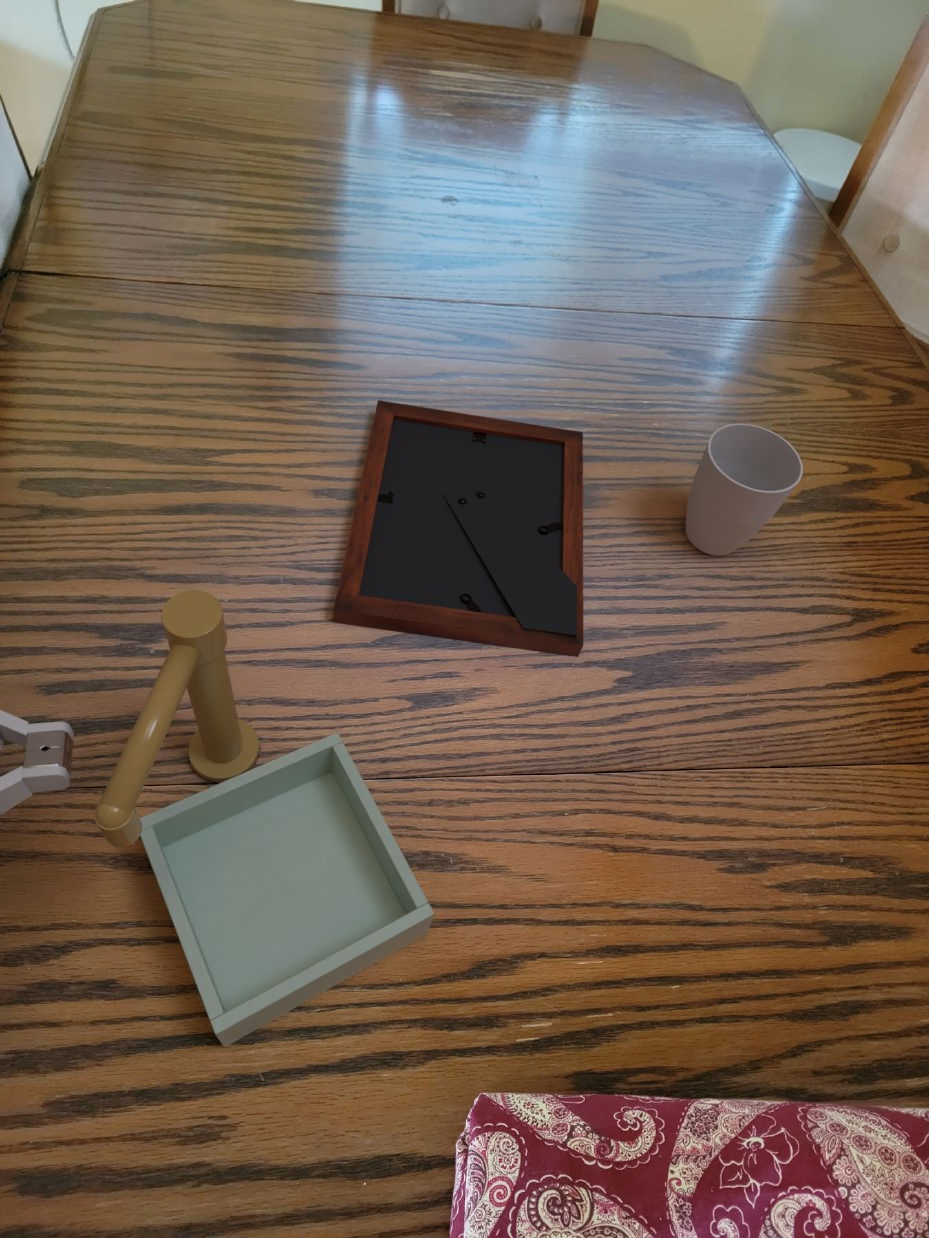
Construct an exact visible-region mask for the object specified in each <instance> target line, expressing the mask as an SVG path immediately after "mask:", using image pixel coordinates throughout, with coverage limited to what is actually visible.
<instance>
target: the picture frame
mask: <svg viewBox="0 0 929 1238" xmlns="http://www.w3.org/2000/svg"><path fill="white" fill-rule="evenodd" d="M368 440H369V441H368V445H367V449H366V453H365V458H364V464H363V468H362V473H361V477H360V482H359V486H358V490H357V491H358V492H357V496H356V501H355V505H354V509H353V514H352V519H351V524H350V528H349V534H348V538H347V543H346V547H345V552H344V556H343V562H342V567H341V571H340V576H339V580H338V585H337V589H336V594H335V598H334V604H333V608H332V623H335V624H343V625H350V626H357V627H363V628H372V629H377V630H385V631H392V632H400V633H405V634H413V635H421V636H429V637H435V638H442V639H450V640H458V641H464V642H469V643H478V644H485V645H493V646H498V647H499V646H500V647H506V648H512V649H513V648H514V649H519V650H528V651H534V652H543V653H549V654H557V655H562V656H563V655H564V656H569V657H570V656H571V657H579V656H580V654H581V651H582V649H583V647H584V432H583V431H579V430H573V429H565V428H561V427H560V428H559V427H553V426H546V425H540V424H533V423H526V422H521V421H514V420H509V419H501V418H496V417H489V416H483V415H477V414H469V413H463V412H457V411H452V410H445V409H437V408H431V407H425V406H418V405H412V404H405V403H399V402H393V401H387V400H382V399H381V400H380V399H378V400H377V402H376V408H375V411H374V416H373V422H372V427H371V431H370V435H369V439H368Z"/></svg>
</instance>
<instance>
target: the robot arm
mask: <svg viewBox="0 0 929 1238" xmlns="http://www.w3.org/2000/svg"><path fill="white" fill-rule="evenodd" d="M4 740H5V741H7V742H10V743H12V744H15V745H17V746H21V747H22V748H25V752H24V753H25V754H24V759H23V765H21V766H19V767H17V768H15V769H13V770H11V771H9V772H7V773H5V774H3V775H1V776H0V816H2V815H3V814H5V813H6V812H8V811H10V810H11V809H13V808H14V807H17V805H19V804H21V803H23V802H24V801H26V800H27V799H29V798H30V797H32V796H33V794H35V793H45V792H52V791H53V792H54V791H61V790H67V789H68V788H69V787H70V786H71V777H72V762H73V750H74V743H75V732H74V730H73V728H72V726H71V725H70V723H68V722H65V721H50V722H49V721H48V722H38V723H37V722H36V723H30V722H29V721H28V720H25V719H23V718H20V717H19V716H16V715H14V714H12V713H9V712H7V711H4V710H2V709H0V751H1V750H2V749H3V748H4Z"/></svg>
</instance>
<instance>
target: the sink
mask: <svg viewBox="0 0 929 1238" xmlns="http://www.w3.org/2000/svg"><path fill="white" fill-rule="evenodd" d="M139 818H140V820H141V822H142V833H141V835H140V839H141V842H142V844H143V847H144V849H145V852H146V855H147V858H148V860H149V863H150V865H151V869H152V871H153V874H154V876H155V879H156V882H157V884H158V887H159V890H160V893H161V895H162V897H163V901H164V904H165V906H166V908H167V911H168V913H169V916H170V919H171V921H172V924H173V927H174V928H175V933H176V935H177V937H178V941H179V943H180V945H181V948H182V951H183V953H184V956H185V959H186V961H187V964H188V967H189V969H190V972H191V975H192V977H193V979H194V983H195V985H196V988H197V990H198V994H199V996H200V998H201V1002H202V1004H203V1007H204V1009H205V1012H206V1014H207V1017H208V1019H209V1020H208V1021H210V1025H211V1028H212V1030H213V1033H214V1034H215V1036H216V1038H217V1040H218V1041H219V1042H220V1044H221V1045H222V1047H223V1048H226V1047H229V1046H230V1045H232V1044H233V1043H236V1042H237V1041H238V1040H241V1039H242V1038H244V1037H246V1036H248V1035H249V1034H251V1033H253V1032H255V1031H257V1030H258V1029H260V1028H263V1027H264V1026H266V1025H267V1024H269V1023H271V1022H272V1021H274V1020H276V1019H278V1018H280V1017H282V1016H283V1015H286V1014H287V1013H289V1012H290V1011H293V1010H294V1009H296V1008H298V1007H300V1006H301V1005H304V1004H305V1003H307V1002H309V1001H310V1000H312V999H314V998H316V997H317V996H319V995H321V994H322V993H325V992H326V991H328V990H331V988H333V987H335V986H337V985H339V984H340V983H342V982H345V981H346V980H348V979H350V978H351V977H353V976H355V975H357V974H359V973H360V972H362V971H364V970H366V969H368V968H369V967H371V966H373V965H375V964H376V963H378V962H380V961H382V960H383V959H385V958H387V957H389V956H391V955H393V954H394V953H396V952H398V951H400V950H402V949H404V948H405V947H407V946H408V945H411V944H413V943H414V942H416V941H418V940H419V939H421V938H423V937H425V936H427V935H428V933H429V931H430V927H431V924H432V922H433V920H434V916H435V912H434V910H433V908H432V906H431V904H430V903H429V901H428V898H427V896H426V895H425V893H424V891H423V889H422V888H421V886H420V883H419V881H418V880H417V878H416V876H415V874H414V873H413V871H412V869H411V867H410V865H409V863H408V861H407V859H406V857H405V856H404V853H403V852H402V850H401V848H400V846H399V844H398V842H397V840H396V839H395V837H394V835H393V833H392V832H391V829H390V827H389V826H388V824H387V822H386V820H385V818H384V816H383V814H382V813H381V811H380V808H379V807H378V805H377V802H376V801H375V799H374V798H373V796H372V794H371V792H370V789H369V788H368V786H367V784H366V782H365V781H364V778H363V776H362V775H361V773H360V771H359V769H358V767H357V766H356V764H355V762H354V760H353V758H352V756H351V754H350V752H349V750H348V749H347V747H346V745H345V743H344V742H343V739H342V737H341V735H340V734H339V732H338V731H337V732H335V733H333V734H330V735H328V736H326V737H323V738H321V739H319V740H316V741H314V742H312V743H309V744H307V745H305V746H302V747H300V748H298V749H296V750H293V751H290V752H288V753H287V754H284V755H281V756H280V757H277V758H275V759H273V760H270V761H267V762H265V763H264V764H261V765H258V766H257V767H253V768H252V769H251V770H249V771H247V772H245V773H243V774H240V775H238V776H236V777H233V778H231V779H229V780H226V781H224V782H222V783H217V784H215V785H213V786H210V787H208V788H205V789H204V790H201V791H199V792H196V793H195V794H192V795H190V796H188V797H185V798H183V799H181V800H178V801H176V802H174V803H171V804H169V805H166V806H164V807H163V808H160V809H157V810H155V811H153V812H150V813H148V814H146V815H143V816H141V817H139Z"/></svg>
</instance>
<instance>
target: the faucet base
mask: <svg viewBox="0 0 929 1238" xmlns="http://www.w3.org/2000/svg"><path fill="white" fill-rule="evenodd" d="M186 690H187V695H188V697H189V702H190V704H191V708H192V711H193V714H194V719H195V722H196V725H197V730H195V732H194V733H193V734H192V736H191V738H190V739H189V740H190V741H189V743H188V749H187V750H188V751H187V753H188V754H187V755H188V758H189V763H190V765H191V767H192V769H193V770H194V772H195V773H196V774H197V775H198V776H199V777H201V778H202V779H204V780H205V781H207V782H212V783H217V784H219V783H222V782H224V781H226V780H229V779H231V778H233V777H236V776H238V775H240V774H243V773H245V772H247V771H249V770H252V769H254V768H255V765H256V763H257V762H258V760H259V757H260V749H261V747H260V741H259V738H258V734H257V732H256V730H255V729H254V727H252V726H251V725H250V723H248V722H246V721H244V720H243V719H240V718H238V713H237V706H236V701H235V697H234V692H233V687H232V682H231V677H230V671H229V666H228V661H227V656H226V650H225V649H224V651H223V652H222V653H221V654H220V655H219V656H218V657H217V658H216V659H214V660H212V661H210V662H208V663H204V664H197V665H196V667H195V670H194V672H193V674H192V676H191V679H190V681H189V683H188V686H187V688H186Z"/></svg>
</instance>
